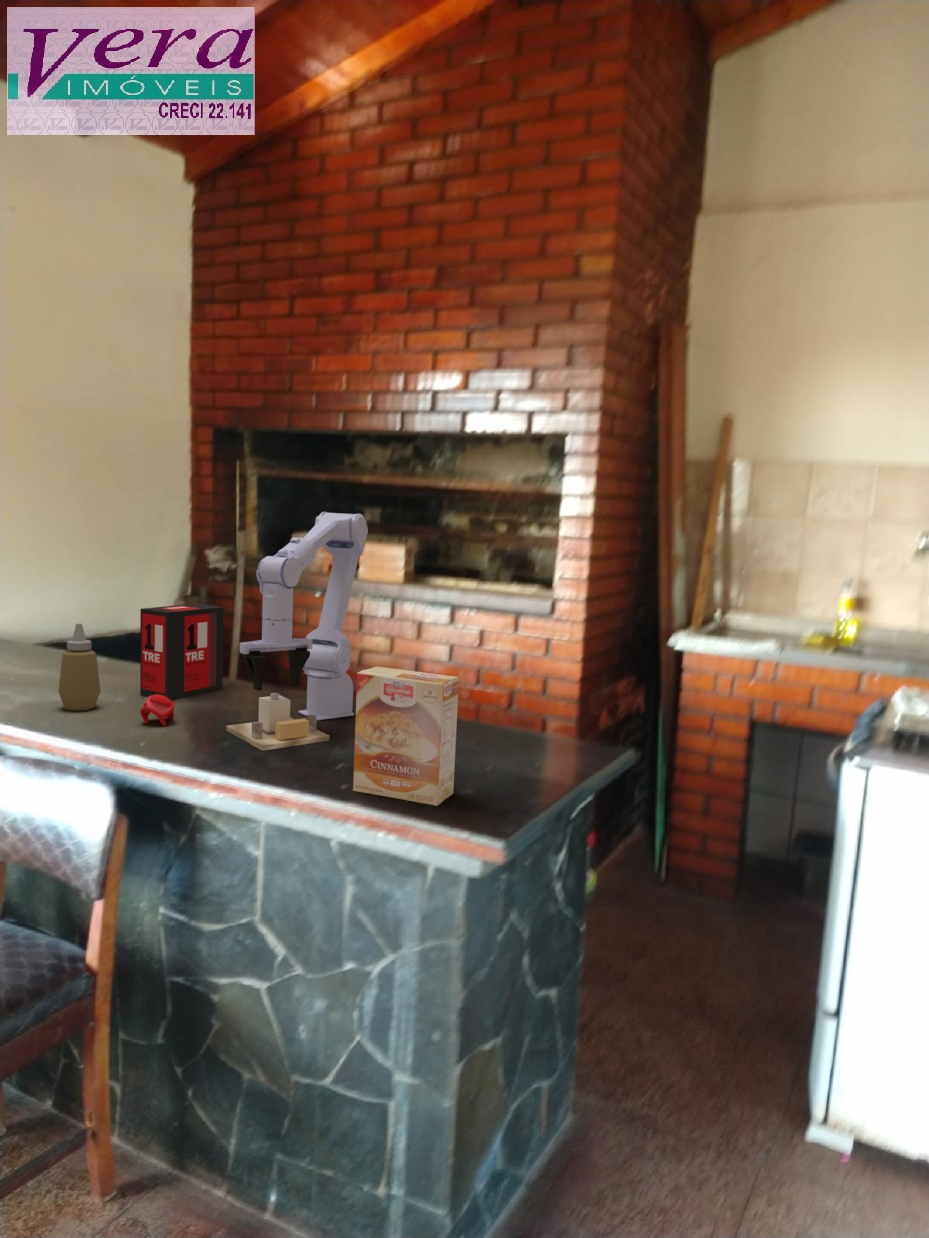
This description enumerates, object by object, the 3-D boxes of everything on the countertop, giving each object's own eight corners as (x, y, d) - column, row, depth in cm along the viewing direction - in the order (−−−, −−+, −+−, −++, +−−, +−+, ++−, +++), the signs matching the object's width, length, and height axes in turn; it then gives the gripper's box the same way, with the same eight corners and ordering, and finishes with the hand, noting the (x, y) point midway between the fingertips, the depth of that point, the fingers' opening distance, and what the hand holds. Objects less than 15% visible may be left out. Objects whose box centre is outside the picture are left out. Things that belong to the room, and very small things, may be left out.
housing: (279, 724, 170) (280, 690, 169) (289, 729, 167) (290, 694, 166) (258, 727, 168) (259, 692, 167) (268, 732, 164) (269, 697, 163)
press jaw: (303, 733, 164) (303, 718, 164) (308, 736, 163) (309, 720, 162) (275, 737, 160) (275, 722, 160) (280, 740, 159) (280, 724, 159)
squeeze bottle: (49, 709, 178) (48, 624, 175) (80, 702, 185) (79, 620, 183) (79, 714, 175) (78, 628, 172) (109, 707, 182) (108, 623, 180)
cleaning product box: (196, 684, 208) (196, 603, 205) (222, 689, 204) (223, 607, 201) (140, 695, 194) (140, 608, 191) (167, 701, 189) (167, 612, 187)
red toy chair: (162, 714, 166) (180, 693, 170) (136, 701, 167) (155, 681, 171) (163, 738, 171) (182, 718, 176) (138, 726, 172) (157, 706, 177)
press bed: (290, 722, 177) (290, 703, 176) (329, 740, 165) (329, 720, 164) (226, 730, 168) (226, 710, 168) (262, 750, 156) (263, 729, 155)
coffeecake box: (351, 791, 136) (355, 672, 134) (371, 779, 143) (376, 665, 140) (437, 807, 131) (443, 683, 129) (454, 793, 138) (460, 675, 135)
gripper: (300, 614, 172) (299, 680, 174) (233, 617, 163) (232, 687, 164) (318, 619, 166) (316, 687, 168) (249, 622, 157) (248, 694, 159)
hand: (275, 687), depth 166 cm, fingers open, 7 cm apart
